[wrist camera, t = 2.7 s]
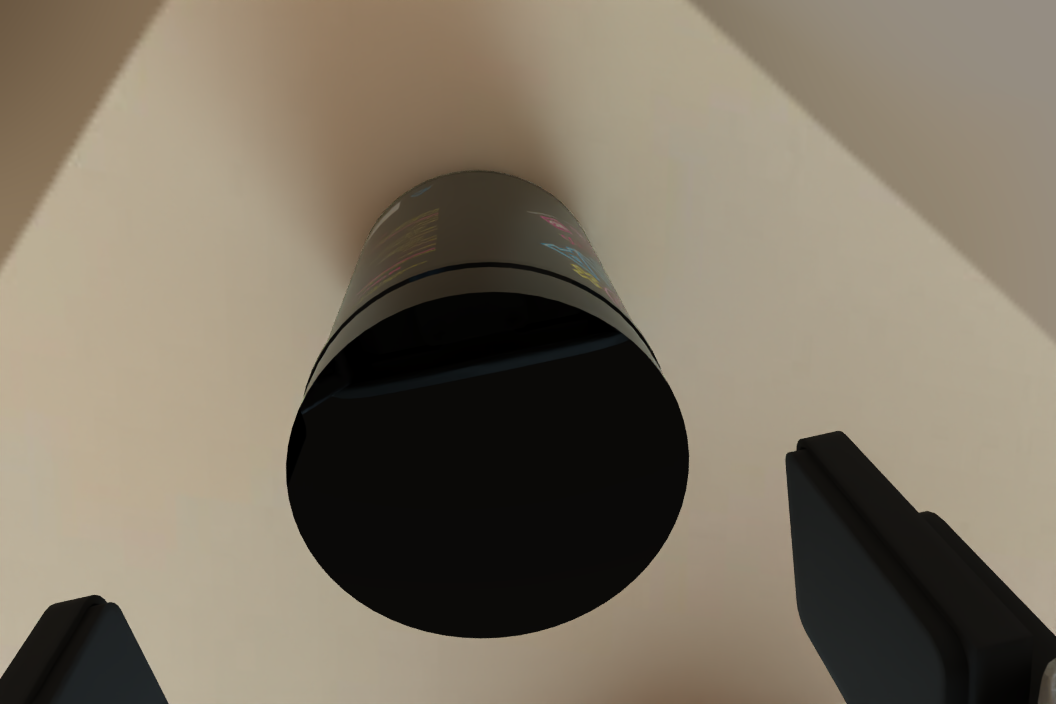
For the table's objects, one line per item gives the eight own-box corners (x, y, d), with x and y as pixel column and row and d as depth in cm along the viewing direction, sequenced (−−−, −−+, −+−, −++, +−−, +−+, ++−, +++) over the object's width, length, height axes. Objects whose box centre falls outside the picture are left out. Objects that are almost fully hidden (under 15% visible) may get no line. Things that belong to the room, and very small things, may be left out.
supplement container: (530, 423, 25) (575, 682, 16) (320, 338, 23) (226, 569, 14) (638, 228, 23) (767, 390, 13) (415, 119, 21) (380, 216, 12)
